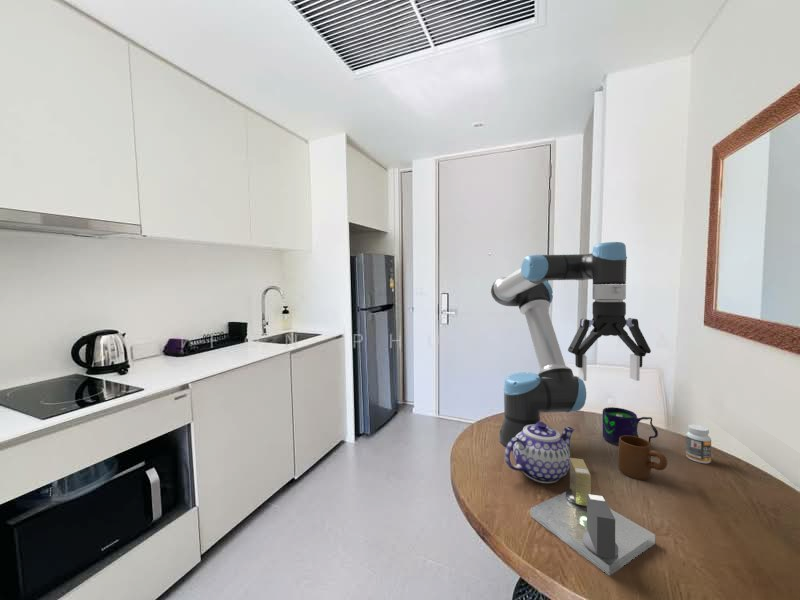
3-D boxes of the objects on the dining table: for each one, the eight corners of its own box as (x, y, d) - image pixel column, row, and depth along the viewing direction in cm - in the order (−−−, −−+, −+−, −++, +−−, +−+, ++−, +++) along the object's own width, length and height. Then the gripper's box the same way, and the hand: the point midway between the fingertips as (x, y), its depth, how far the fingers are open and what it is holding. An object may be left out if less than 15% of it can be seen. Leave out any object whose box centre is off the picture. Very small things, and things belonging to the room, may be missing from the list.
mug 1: (599, 441, 112) (600, 413, 111) (605, 431, 119) (605, 404, 119) (656, 456, 102) (656, 424, 101) (658, 444, 109) (658, 415, 109)
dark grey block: (624, 562, 60) (624, 520, 60) (588, 555, 62) (588, 514, 62) (611, 534, 67) (611, 496, 67) (578, 529, 69) (578, 492, 68)
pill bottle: (709, 466, 95) (710, 433, 95) (684, 459, 100) (684, 427, 99) (711, 459, 99) (712, 427, 99) (687, 452, 103) (687, 422, 103)
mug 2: (675, 485, 86) (676, 451, 86) (657, 493, 84) (657, 457, 83) (629, 463, 98) (629, 433, 97) (612, 469, 95) (612, 437, 94)
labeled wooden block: (563, 487, 83) (563, 456, 83) (589, 491, 81) (589, 459, 81) (569, 505, 76) (569, 471, 76) (597, 509, 74) (598, 475, 74)
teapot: (523, 499, 82) (523, 441, 82) (488, 467, 97) (488, 418, 96) (597, 478, 90) (597, 426, 90) (554, 452, 105) (554, 407, 104)
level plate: (530, 516, 76) (530, 505, 76) (574, 495, 83) (574, 485, 83) (609, 576, 60) (609, 562, 60) (654, 543, 67) (655, 531, 67)
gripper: (567, 302, 83) (567, 383, 84) (668, 300, 82) (667, 383, 83) (555, 301, 91) (555, 375, 92) (647, 299, 89) (646, 375, 90)
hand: (608, 379), depth 87 cm, fingers open, 13 cm apart
